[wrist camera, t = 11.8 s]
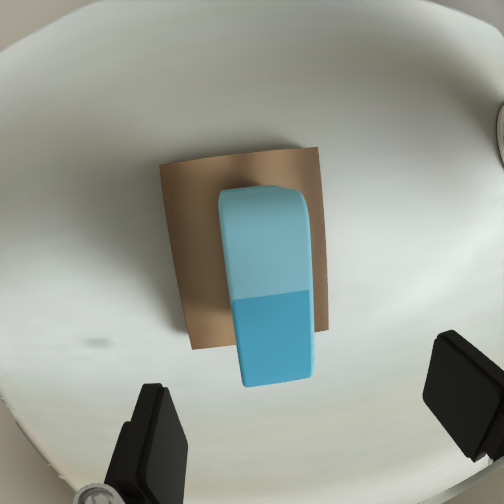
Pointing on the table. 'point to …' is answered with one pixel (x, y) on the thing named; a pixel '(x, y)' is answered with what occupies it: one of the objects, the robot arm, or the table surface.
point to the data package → (269, 282)
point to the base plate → (209, 232)
